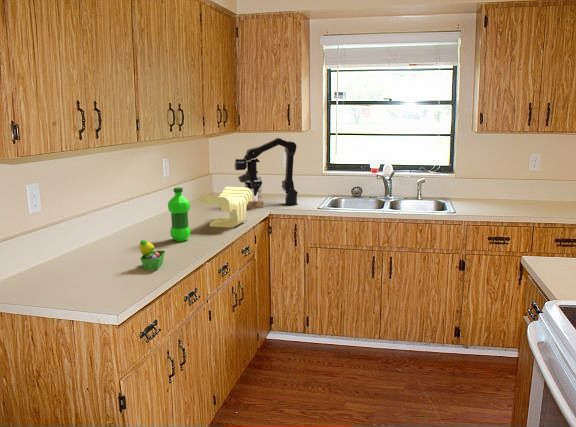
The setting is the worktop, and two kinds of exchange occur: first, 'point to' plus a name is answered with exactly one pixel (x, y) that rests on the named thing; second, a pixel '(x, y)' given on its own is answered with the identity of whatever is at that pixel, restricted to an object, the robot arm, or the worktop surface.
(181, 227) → the plastic bottle
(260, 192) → the coffee box
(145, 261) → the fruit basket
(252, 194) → the faceted beige tumbler
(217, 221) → the slatted curved stool
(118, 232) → the worktop surface
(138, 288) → the worktop surface
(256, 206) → the copper brown block
